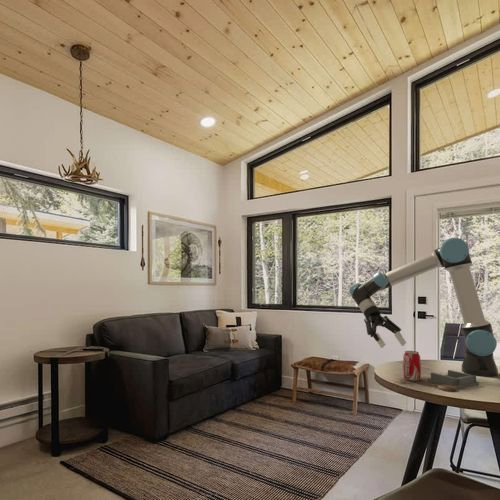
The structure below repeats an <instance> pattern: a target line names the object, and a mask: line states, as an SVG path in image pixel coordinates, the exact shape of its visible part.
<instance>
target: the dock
mask: <svg viewBox="0 0 500 500" xmlns="http://www.w3.org/2000/svg"><path fill="white" fill-rule="evenodd" d="M427 381H428V382H429V383H434V384H437V385H440V384H446V385H452V386H456V387H457V390H462V389H466V388H472V387H478V386H479V385H480V381H477V375H473V374H468V373H465V372H462V371H461V372H460V371H457V370H451V369H448V370H447V374H446V375H445V374H441V373H436V372H430V377H428V379H427Z"/></svg>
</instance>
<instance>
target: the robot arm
mask: <svg viewBox="0 0 500 500" xmlns="http://www.w3.org/2000/svg"><path fill="white" fill-rule="evenodd" d="M472 265H473V262H472V257H471V254H470V251H469V245H468V244H467V243H466V241H465V240H464V239H462V238H458V237H449V238H447V239H444V241H442V242H441V244H440V246H439V247H438V248H436V249H433V250H432V253H429V254H427V255H425V256H422V257H419V258H418V259H416V260H413V261H411V262H409V263H406V264H404V265H402V266H399V267H398V268H397V267H396V268H394V269H392V270H390V271H388V272H385V273H382V272H381V271H377V272H376V273H375V274H373V275H372V276H371V277H369V278H368V279H367V280H366V281H365V282H364V283H362V284H361V283H360V282H356V283H355V284H353V285H351V286H350V287H349V289H348V290H349V292H348V293H349V294H350V296H351V298H352V299H353V301H354V302H355V304H356V305H357V306H358V308H359V309H360V311H361V313H362V314H363V315H364V317H365V318H364V319H363V321H364V323H365V328H366V333H367V335H368V336H370V337H371V338H373V339H374V340H375V341H376V342H377V345H378V346H379V347H380V348H381V349H383V348H384V347H385V346H386V343H385V341H384V340H383V338H382V337H381V335H380V333H378V332H377V328H378V326H379V327H382V328H385V329H387V330H388V331H390V332H391V333H393V335H394V337H395V338H396V340H397V341H398V343H399V344H400V345H401V346H402V347H404V346H405V344H407V341H406V340H405V338H404V337H403V335H402V334H401V331H402V328H401V327H399V326H398V325H397V324H396V323H395V322H393V320H391V319H390V318H389V317H388V316H387V315H385V316H382V315H381V310H380V309H379V308H378V306H377V304H376V303H375V302H374V301H373V299H372V297H373V296H374V295H375V294H377V293H378V292H381V291H384V290H386V289H388V288H391V287H393V286H395V285H398V284H401V283H403V282H406V281H408V280H411V279H412V278H414V277H418V276H419V275H422V274H423V275H424V274H425V273H427V272H429V271H432V270H434V269H435V270H436V269H437V268H443V269H444V270H445V271H447V272H449V276H450V278H451V281H452V286H453V288H454V292H455V295H456V300H457V303H458V307H459V309H460V312H461V318H462V321H463V324H462V325H461V330H462V334H463V338H464V348H465V349H464V352H465V353H464V358H463V361H462V364H461V372H462V373H466V374H470V375H474V376H482V377H496V376H498V375H499V370H498V367H497V364H496V362H495V359H494V352H495V350H496V349H497V345H498V344H497V343H498V341H497V339H496V337H495V335H494V329H493V325H491V322H489V321H488V320H486V318H485V315H484V312H483V308H482V305H481V302H480V298H479V295H478V294H479V293H478V291H477V288H476V284H475V281H474V278H473V274H472V272H471V266H472Z"/></svg>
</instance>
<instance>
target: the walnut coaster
mask: <svg viewBox="0 0 500 500" xmlns="http://www.w3.org/2000/svg"><path fill="white" fill-rule="evenodd" d="M437 389H438V390H441V391H442V392H453V393H454V392H457V391H458V389H457V387H456V386H452V385H446V384H437Z"/></svg>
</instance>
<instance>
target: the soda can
mask: <svg viewBox="0 0 500 500" xmlns="http://www.w3.org/2000/svg"><path fill="white" fill-rule="evenodd" d="M402 360H403V363H402V364H403V367H402V368H403V369H402V370H403V378H404V379H405V380H406V381H411V382H418V381H419V380H421V375H422V372H421V371H422V370H421V369H422V368H421V367H422V365H421V364H422V363H421V362H422V361H421V360H422V359H421V355H420V352H419V351H417V350H416V351H414V350H405V351H404V354H403V359H402Z"/></svg>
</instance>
